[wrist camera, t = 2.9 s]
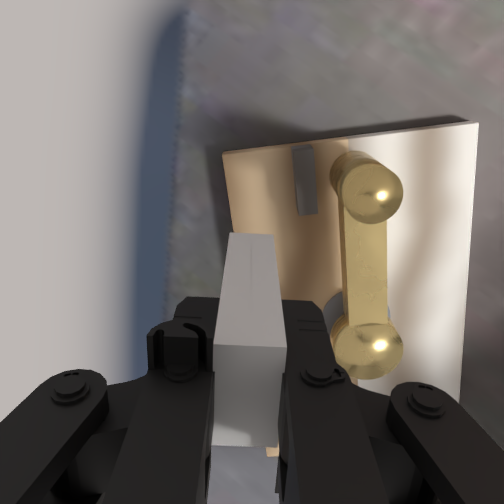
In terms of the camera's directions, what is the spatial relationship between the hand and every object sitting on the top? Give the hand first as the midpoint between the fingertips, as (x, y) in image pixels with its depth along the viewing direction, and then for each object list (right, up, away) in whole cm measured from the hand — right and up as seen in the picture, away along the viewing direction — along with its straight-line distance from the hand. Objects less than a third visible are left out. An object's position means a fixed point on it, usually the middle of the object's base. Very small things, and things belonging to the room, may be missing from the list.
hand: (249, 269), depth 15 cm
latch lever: (+7, 0, +14) cm, 15 cm away
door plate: (+8, -4, +18) cm, 20 cm away
